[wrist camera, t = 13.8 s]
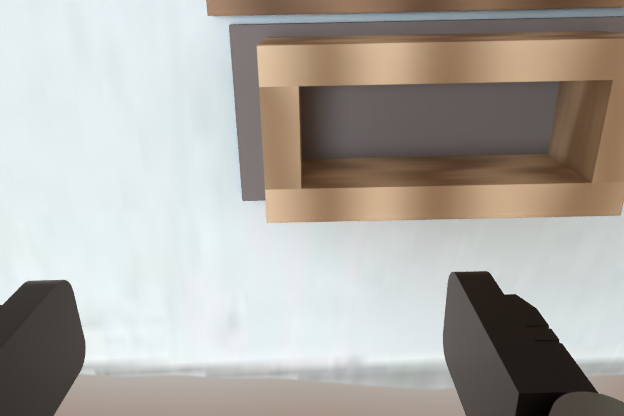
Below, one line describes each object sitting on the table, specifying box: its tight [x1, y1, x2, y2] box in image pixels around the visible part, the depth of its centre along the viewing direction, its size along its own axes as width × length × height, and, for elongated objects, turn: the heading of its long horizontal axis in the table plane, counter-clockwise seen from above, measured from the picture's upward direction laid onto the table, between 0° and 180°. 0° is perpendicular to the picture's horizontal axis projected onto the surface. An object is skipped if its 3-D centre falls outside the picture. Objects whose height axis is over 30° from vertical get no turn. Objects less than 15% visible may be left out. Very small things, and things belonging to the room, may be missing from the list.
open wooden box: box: [257, 31, 624, 223], centre depth 26 cm, size 18×9×5 cm, turn 91°
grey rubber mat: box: [229, 16, 624, 201], centre depth 29 cm, size 22×10×1 cm, turn 91°
